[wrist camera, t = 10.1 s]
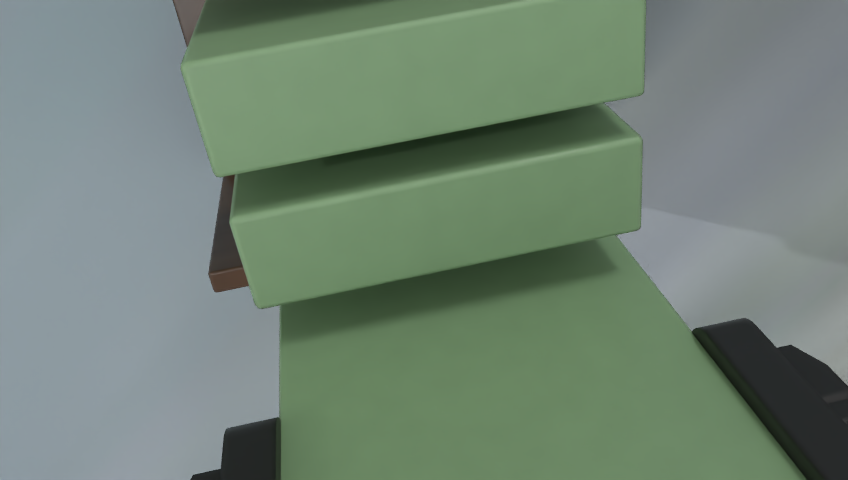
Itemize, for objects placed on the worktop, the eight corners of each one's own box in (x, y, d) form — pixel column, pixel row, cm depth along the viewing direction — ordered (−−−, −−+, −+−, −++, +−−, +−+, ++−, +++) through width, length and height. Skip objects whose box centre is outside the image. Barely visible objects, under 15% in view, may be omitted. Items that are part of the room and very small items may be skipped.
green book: (295, 243, 17) (315, 857, 7) (279, 183, 17) (277, 781, 6) (540, 194, 18) (888, 708, 8) (537, 133, 17) (921, 618, 7)
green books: (267, 69, 21) (255, 312, 11) (231, -72, 19) (176, 63, 9) (471, 32, 22) (643, 231, 11) (456, -110, 20) (649, -23, 9)
